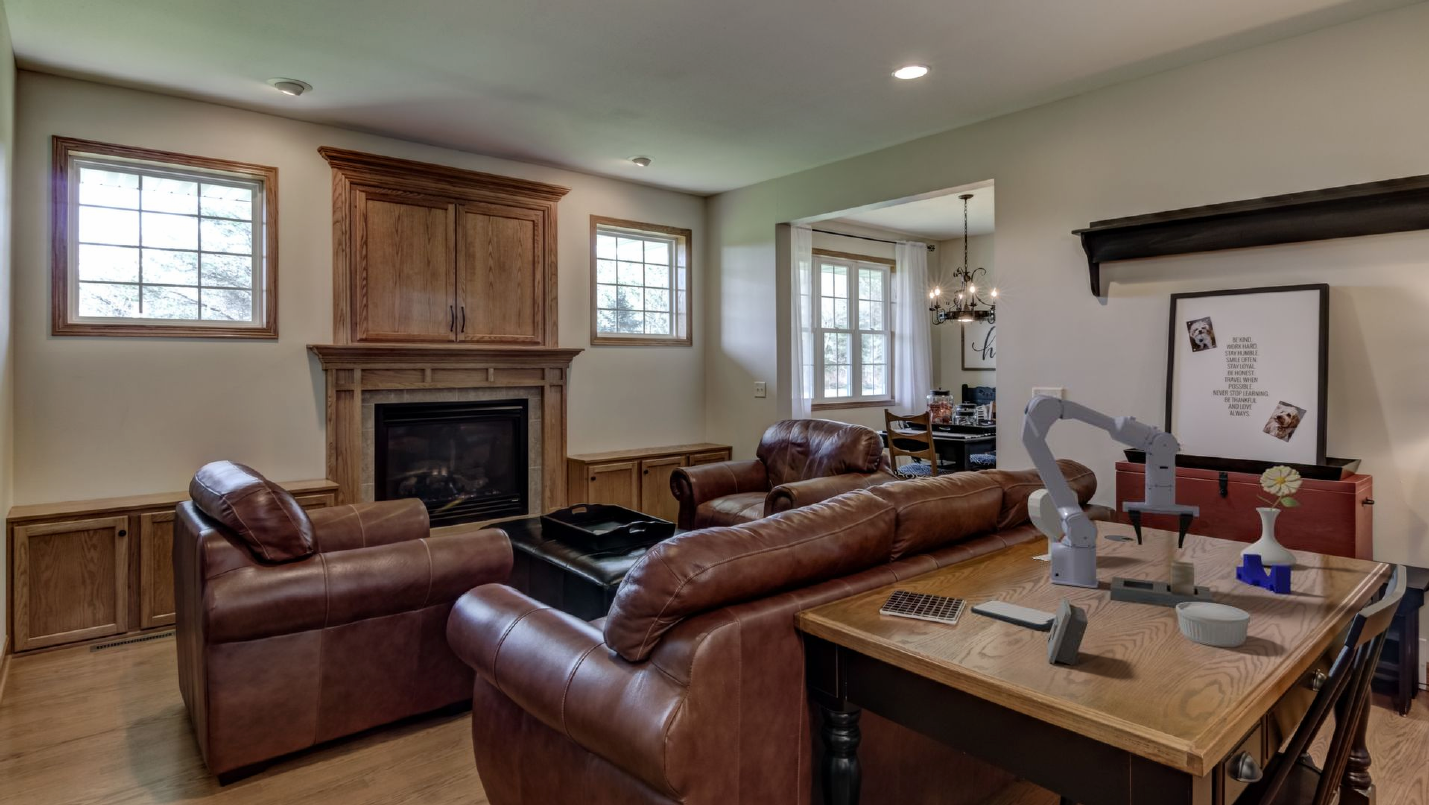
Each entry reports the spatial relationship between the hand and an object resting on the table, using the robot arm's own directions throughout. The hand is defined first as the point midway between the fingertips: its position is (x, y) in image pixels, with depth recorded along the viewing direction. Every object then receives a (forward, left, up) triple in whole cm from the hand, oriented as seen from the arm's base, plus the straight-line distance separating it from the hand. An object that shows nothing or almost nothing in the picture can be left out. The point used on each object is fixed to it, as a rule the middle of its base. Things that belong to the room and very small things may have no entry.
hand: (1159, 545), depth 166 cm
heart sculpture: (-24, +20, -10) cm, 33 cm away
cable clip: (+20, +12, -10) cm, 25 cm away
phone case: (-24, -37, -10) cm, 45 cm away
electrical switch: (-14, -55, -10) cm, 58 cm away
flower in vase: (+24, +36, -10) cm, 44 cm away
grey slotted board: (0, -10, -9) cm, 14 cm away
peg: (+4, -10, -9) cm, 14 cm away
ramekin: (+8, -33, -10) cm, 35 cm away
